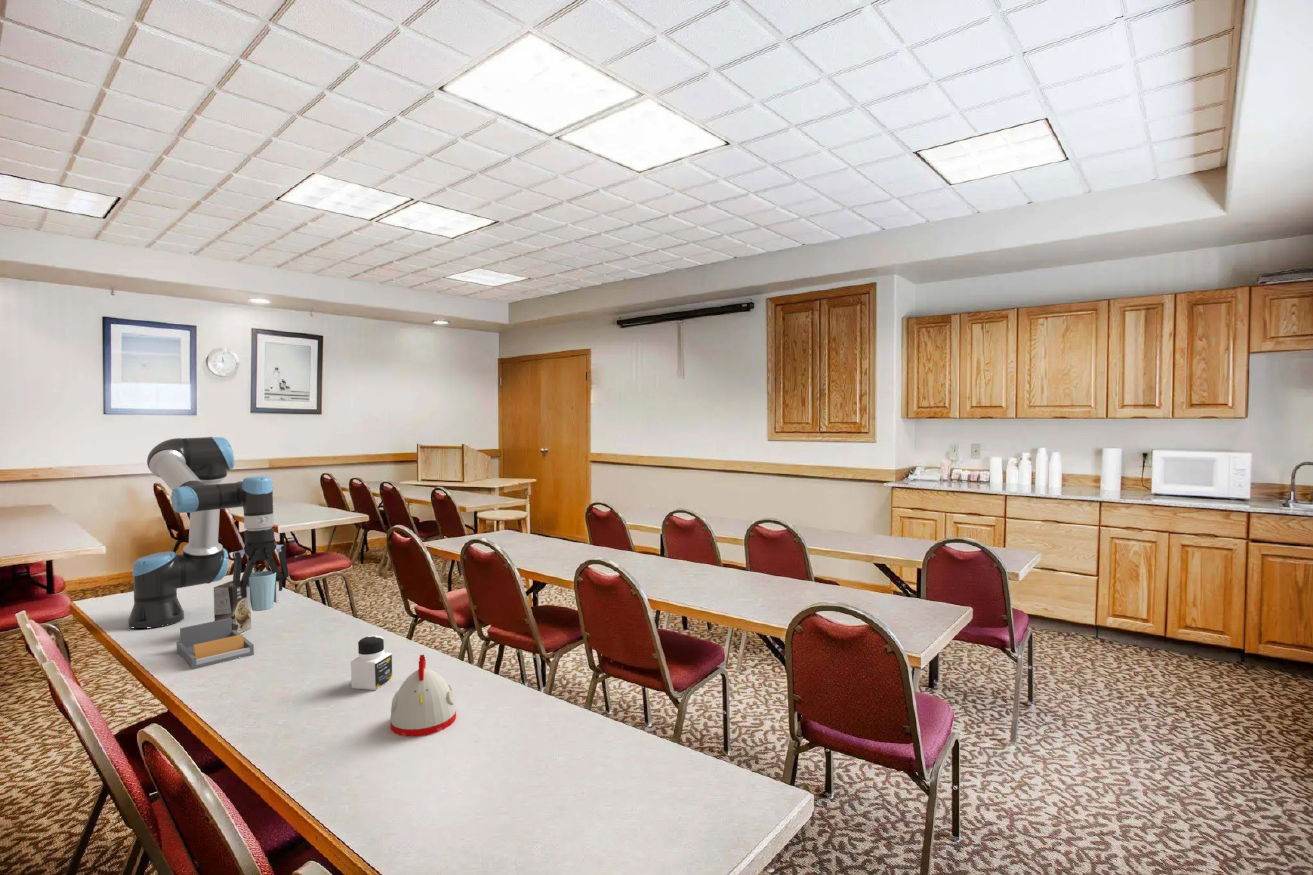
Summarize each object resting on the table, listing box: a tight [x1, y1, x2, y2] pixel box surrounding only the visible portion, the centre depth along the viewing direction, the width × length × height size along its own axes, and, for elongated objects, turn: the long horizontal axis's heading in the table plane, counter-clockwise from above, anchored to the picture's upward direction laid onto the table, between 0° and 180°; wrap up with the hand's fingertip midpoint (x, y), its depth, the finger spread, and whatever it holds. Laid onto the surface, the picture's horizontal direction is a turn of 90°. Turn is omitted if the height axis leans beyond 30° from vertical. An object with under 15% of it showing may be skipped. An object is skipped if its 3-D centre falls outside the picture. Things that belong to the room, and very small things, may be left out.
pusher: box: [193, 633, 245, 659], centre depth 191 cm, size 6×12×4 cm, turn 136°
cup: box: [247, 570, 276, 612], centre depth 195 cm, size 8×8×10 cm
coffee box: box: [213, 579, 252, 634], centre depth 212 cm, size 9×6×16 cm
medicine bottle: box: [350, 635, 393, 691], centre depth 168 cm, size 7×7×12 cm
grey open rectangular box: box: [176, 618, 255, 670], centre depth 193 cm, size 20×15×7 cm
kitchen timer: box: [390, 654, 457, 738], centre depth 147 cm, size 14×14×15 cm
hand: (262, 605), depth 195 cm, fingers closed on cup, 7 cm apart
